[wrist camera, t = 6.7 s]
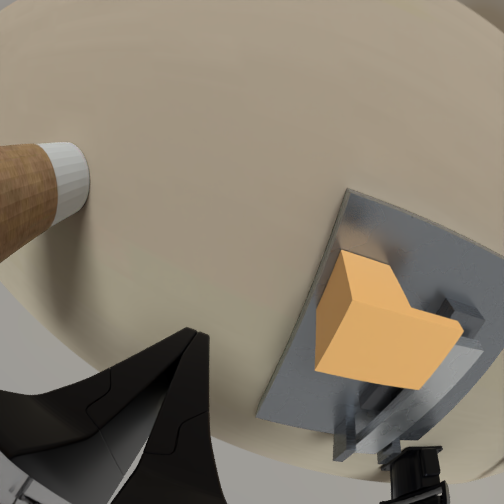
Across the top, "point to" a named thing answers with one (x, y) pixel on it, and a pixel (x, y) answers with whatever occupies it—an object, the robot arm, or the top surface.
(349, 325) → the block
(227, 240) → the top surface
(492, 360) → the base
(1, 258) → the coffee cup
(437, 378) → the strap
